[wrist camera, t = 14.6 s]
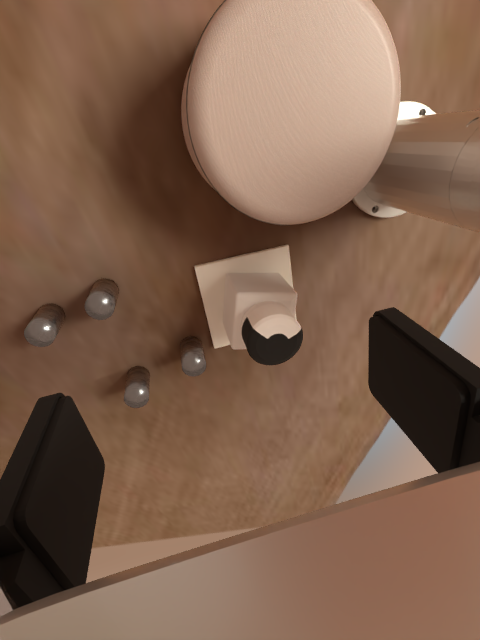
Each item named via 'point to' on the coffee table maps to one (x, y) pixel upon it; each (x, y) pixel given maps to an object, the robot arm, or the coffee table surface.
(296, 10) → the container
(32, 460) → the robot arm
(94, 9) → the coffee table surface
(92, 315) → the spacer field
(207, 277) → the pad
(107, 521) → the coffee table surface
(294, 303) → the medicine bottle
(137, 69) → the coffee table surface
